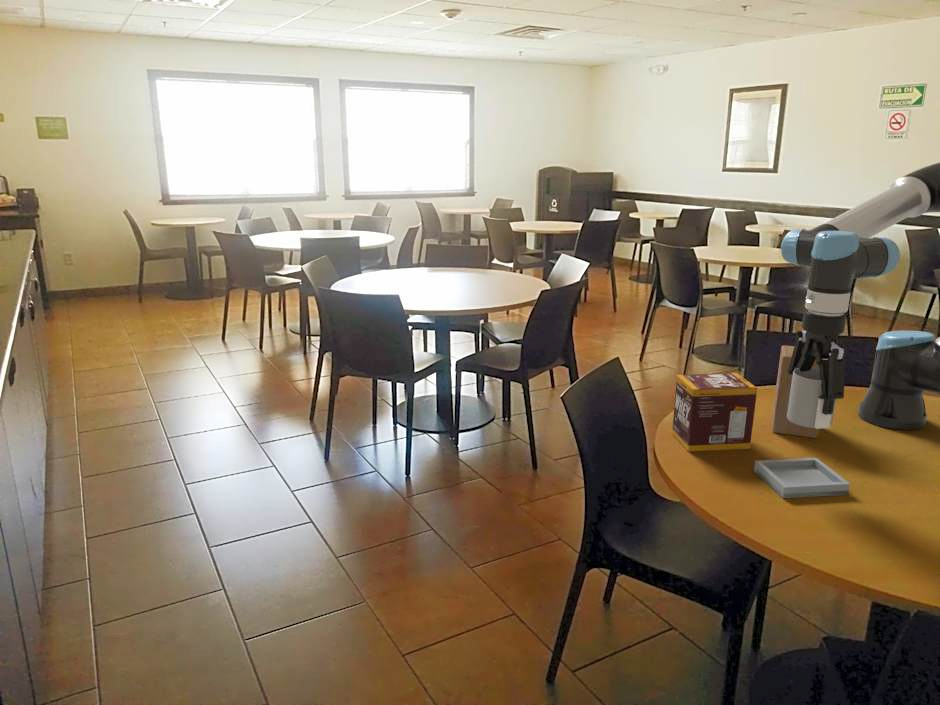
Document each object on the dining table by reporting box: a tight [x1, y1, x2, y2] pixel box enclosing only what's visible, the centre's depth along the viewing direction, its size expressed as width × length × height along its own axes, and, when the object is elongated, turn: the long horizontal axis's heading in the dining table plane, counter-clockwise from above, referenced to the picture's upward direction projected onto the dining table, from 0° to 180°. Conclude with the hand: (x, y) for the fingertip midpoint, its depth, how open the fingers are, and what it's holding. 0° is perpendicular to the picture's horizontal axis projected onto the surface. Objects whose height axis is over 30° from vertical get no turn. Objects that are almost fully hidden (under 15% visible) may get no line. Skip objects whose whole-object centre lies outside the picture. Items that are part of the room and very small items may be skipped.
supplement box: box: [671, 372, 758, 452], centre depth 163 cm, size 10×15×16 cm
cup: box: [787, 368, 837, 428], centre depth 140 cm, size 8×8×10 cm
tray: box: [753, 457, 851, 499], centre depth 145 cm, size 14×12×2 cm
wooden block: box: [771, 345, 829, 439], centre depth 169 cm, size 10×10×20 cm
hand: (808, 418), depth 141 cm, fingers closed on cup, 8 cm apart
